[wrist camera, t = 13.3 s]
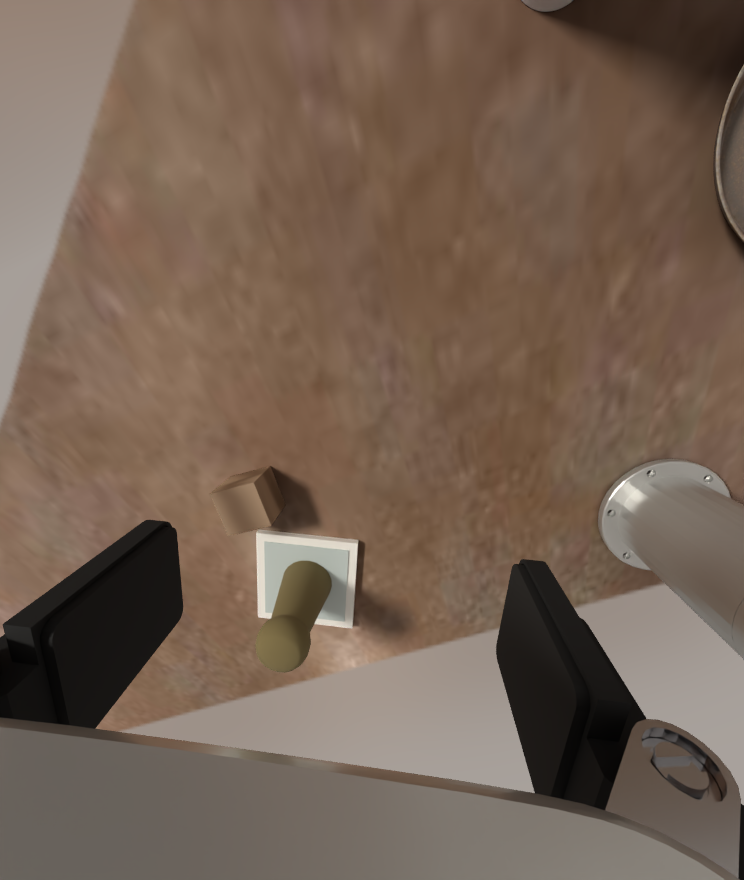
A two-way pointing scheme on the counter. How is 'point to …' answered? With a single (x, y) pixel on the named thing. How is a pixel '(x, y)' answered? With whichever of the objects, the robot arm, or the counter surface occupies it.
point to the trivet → (325, 551)
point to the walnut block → (248, 501)
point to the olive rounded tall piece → (293, 616)
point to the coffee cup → (546, 4)
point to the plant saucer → (731, 158)
